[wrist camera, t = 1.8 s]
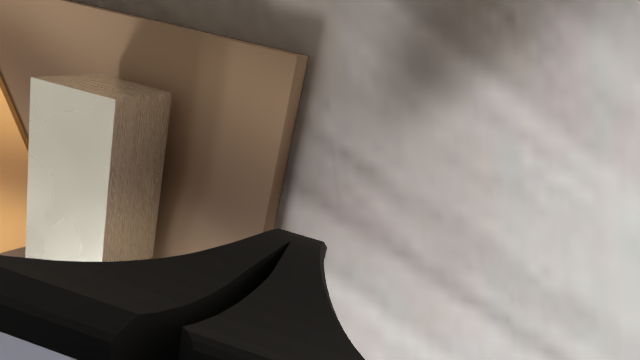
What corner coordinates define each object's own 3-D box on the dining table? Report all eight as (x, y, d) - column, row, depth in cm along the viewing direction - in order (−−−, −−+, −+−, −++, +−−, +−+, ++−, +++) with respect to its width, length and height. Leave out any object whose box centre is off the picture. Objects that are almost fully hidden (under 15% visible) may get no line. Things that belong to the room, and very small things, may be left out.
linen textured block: (134, 500, 20) (76, 587, 17) (61, 471, 20) (-8, 550, 17) (186, 96, 15) (118, 106, 11) (87, 70, 15) (-5, 73, 12)
